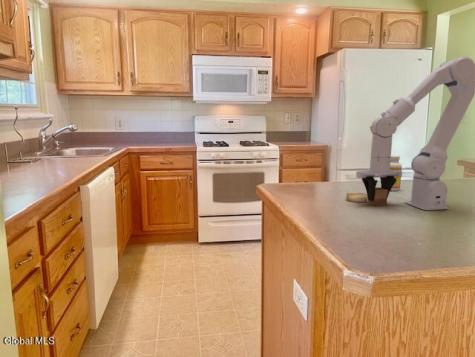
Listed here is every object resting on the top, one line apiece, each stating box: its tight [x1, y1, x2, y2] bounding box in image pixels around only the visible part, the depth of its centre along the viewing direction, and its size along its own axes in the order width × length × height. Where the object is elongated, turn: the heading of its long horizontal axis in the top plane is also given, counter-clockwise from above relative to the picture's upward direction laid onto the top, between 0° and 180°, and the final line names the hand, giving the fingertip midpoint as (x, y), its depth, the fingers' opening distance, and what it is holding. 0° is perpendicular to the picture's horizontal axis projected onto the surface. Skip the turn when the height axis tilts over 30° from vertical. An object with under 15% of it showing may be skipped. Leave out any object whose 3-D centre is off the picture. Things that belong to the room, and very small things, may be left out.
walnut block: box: [367, 186, 388, 207], centre depth 110 cm, size 4×4×5 cm
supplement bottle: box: [390, 154, 403, 192], centre depth 133 cm, size 7×7×13 cm
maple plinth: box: [345, 191, 368, 204], centre depth 116 cm, size 7×7×2 cm
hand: (377, 200), depth 110 cm, fingers closed on walnut block, 4 cm apart
